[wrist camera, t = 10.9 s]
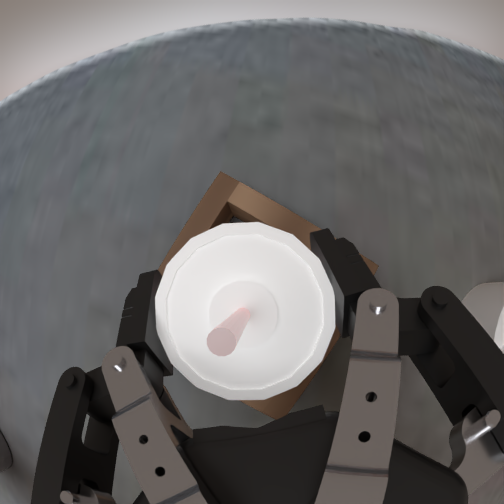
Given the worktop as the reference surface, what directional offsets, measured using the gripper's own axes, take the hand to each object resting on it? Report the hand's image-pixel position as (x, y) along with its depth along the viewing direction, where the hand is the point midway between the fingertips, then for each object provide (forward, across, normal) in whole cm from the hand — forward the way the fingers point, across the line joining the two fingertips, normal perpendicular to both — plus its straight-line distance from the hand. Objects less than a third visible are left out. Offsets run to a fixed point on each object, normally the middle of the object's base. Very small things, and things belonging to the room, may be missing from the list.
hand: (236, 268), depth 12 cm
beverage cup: (+4, 0, +6) cm, 7 cm away
